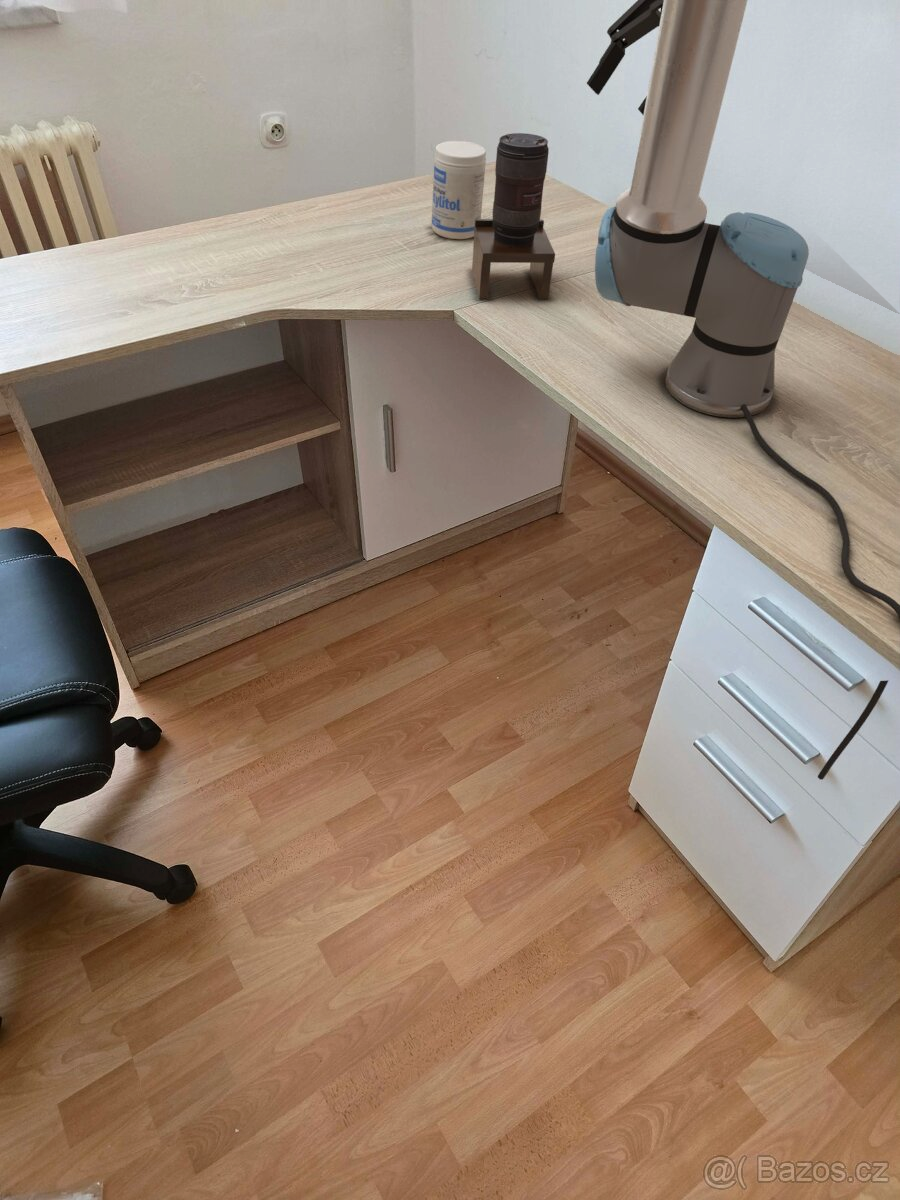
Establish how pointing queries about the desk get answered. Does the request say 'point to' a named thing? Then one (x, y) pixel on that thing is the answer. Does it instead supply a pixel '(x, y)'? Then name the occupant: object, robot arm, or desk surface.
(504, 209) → the camera lens
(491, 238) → the block
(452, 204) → the supplement tub
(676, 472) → the desk surface
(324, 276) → the desk surface
